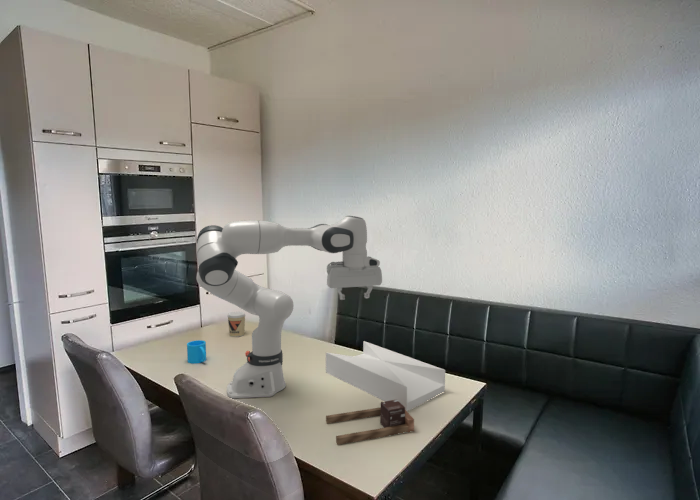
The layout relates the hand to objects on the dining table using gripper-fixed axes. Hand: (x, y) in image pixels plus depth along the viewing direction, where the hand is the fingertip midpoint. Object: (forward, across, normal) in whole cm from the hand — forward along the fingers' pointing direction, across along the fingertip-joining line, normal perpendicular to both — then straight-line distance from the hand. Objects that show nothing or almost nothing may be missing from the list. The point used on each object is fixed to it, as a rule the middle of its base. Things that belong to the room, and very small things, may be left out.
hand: (354, 298), depth 149 cm
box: (+37, +5, -24) cm, 44 cm away
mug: (+37, -57, +54) cm, 87 cm away
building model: (+38, +14, +9) cm, 41 cm away
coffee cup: (+37, -39, +89) cm, 104 cm away
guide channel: (+37, -3, -21) cm, 43 cm away
